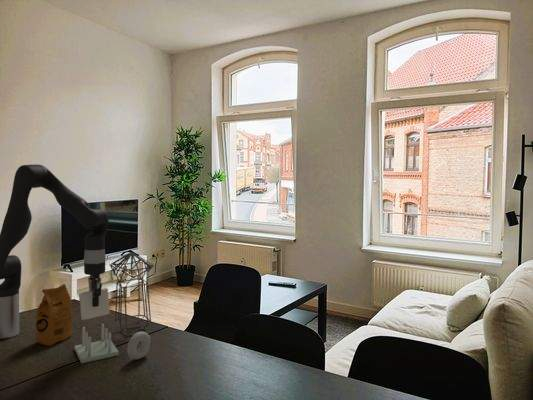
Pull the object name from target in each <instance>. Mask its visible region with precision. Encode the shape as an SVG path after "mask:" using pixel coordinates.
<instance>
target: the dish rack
mask: <svg viewBox="0 0 533 400" xmlns="http://www.w3.org/2000/svg"><path fill="white" fill-rule="evenodd" d="M81 327H82V326H81ZM81 329H82V330H81V331H82V334H81V344H77V345H74V351H75V353H76V355H77V357H78V360H79V363H80V364H85V363H89V362H94V361H99V360H102V359H107V358H111V357H118V356H119V355H120V354H119V353H120V352H119V350H118V348H117V347H116V346H115V344H114V342H112V333H111V332H108V331H109V330H108V328H107V327H106V328H105V324H104V323H101V335H100V336H101V337H100V338H101V340H98V341H93V342H92V336H89V331H86V327H85V326H83V327H82V328H81Z"/></svg>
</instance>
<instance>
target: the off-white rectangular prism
mask: <svg viewBox="0 0 533 400" xmlns="http://www.w3.org/2000/svg"><path fill="white" fill-rule="evenodd" d="M96 293H98V292H96ZM78 298H79V313H80V314H79V315H80V320H81V321H84V320H89V319H94V318H97V317H103V316H107V315H111V314H110V300H109V289H108V287H102V288H101V295H100V296H99V306H97V307H93V306H92V291H89V290H87V291H81V292H78Z"/></svg>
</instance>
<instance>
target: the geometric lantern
mask: <svg viewBox="0 0 533 400" xmlns="http://www.w3.org/2000/svg"><path fill="white" fill-rule="evenodd" d="M129 259H130V262H129ZM136 259H137V260H136ZM128 262H129V263H128ZM140 262H142V263H143V265H144V267H143V268H139V263H140ZM133 264H135V265H133ZM127 265H130V268H127V267H126V266H127ZM109 266H110V269H111V271H112V272H113V275H114V276H115V278H116V279H117V281H116V283H115V285H116V286H115V287H116V288H115V311H114V312H115V313H114V315H115V316H114V322H115V325H117V327H118V328H119V329H120V332H121V333H122V334H124V335H125V336H126V337H132V336H133V335H134V334H135V333H133V334H131V332H134V331H138V330H142V332H146V327H148V325H150V324H151V323H152V319H151V318H152V317H151V306H150V305H151V304H150V303H151V302H150V293H149V291H150V290H149V275H147V279H146V280H145V279H144V277H145V275H146V273H149V272H150V271H151V270H152V268H153V267H155V265H154V264H153V263H151V262H149V261H148V260H146V259H145V258H143V257H141V256H140V255H138V254H137V253H136V252H128V253H127V254H124V255H123V256H122V257H120V258H118V259H117V260H115V261H114V262H113V261H112V263H109ZM136 271H137V273H136ZM140 271H142V272H140ZM119 272H121V273H122V274H121V276H120V279H119V277H118V274H119ZM127 272H130V274H129V273H127ZM133 273H134V274H135V275H133ZM124 274H125V275H127V276H129V277H130V278H129V279H126V280H122V279H123V276H124ZM141 275H142V277H141ZM135 277H136V278H135ZM135 280H137V281H138V282H137V283H138V284H137V285H130V286H128V285H129V283H130V282H131V281H135ZM140 281H141V282H140ZM122 282H123V283H124V282H127V283H126V285H124V286H123V285H122ZM140 283H141V284H140ZM118 286H119V287H118ZM134 287H137V288H138V289H137V290H138V293H137V294H138V296H137V297H138V301H137V302H138V303H137V304H138V305H137V306H138V307H137V309H138V311H137V312H138V313H137V314H135V315H131V316H128V315H127V314H128V313H127V295H126V294H127V293H126V292H127V291H126V289H127V288H134ZM140 288H141V289H140ZM140 290H141V291H142V292H141V291H140ZM118 293H119V294H118ZM123 293H124V297H123ZM140 293H142V305H143V314H141V313H140V304H141V303H140V301H141V299H140ZM123 298H124V316H125V317H122V312H123V311H122V308H123V307H122V306H123V304H122V302H123ZM117 311H118V314H117ZM135 317H136V318H137V321H136V322H132V323H128V320H127V319H129V318H131V319H132V318H135ZM140 317H142V318H141V319H140ZM144 318H145V319H146V323H144V324H143V323H141V322H142V321H143V319H144ZM124 319H125V324H124V325H123V324H122V320H124ZM139 319H140V321H139ZM134 324H136V325H134ZM130 325H132V326H130ZM135 328H136V329H135ZM131 329H132V330H131Z"/></svg>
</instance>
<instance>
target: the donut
mask: <svg viewBox="0 0 533 400" xmlns="http://www.w3.org/2000/svg"><path fill="white" fill-rule="evenodd" d="M133 334H134V335H132V336H130V337H131V338H130V339H129V340H128V343H127V348H126V351H127V356H128V357H129V358H131V360H136V361H137V360H141V359H143V358H144V357H145V356H146V355H147V353H148V352H149V349H150V346H151V337H150V334H149V333H147V332H146V331H145V332H144V331H143V330H142V331H138V332H135V333H133ZM139 343H140V346H139V348H138V345H139Z"/></svg>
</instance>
